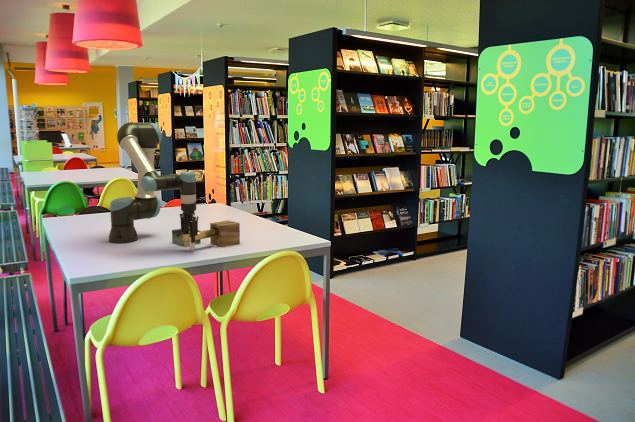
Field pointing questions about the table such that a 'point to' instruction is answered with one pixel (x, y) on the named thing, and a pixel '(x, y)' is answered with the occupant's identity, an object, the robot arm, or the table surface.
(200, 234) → the axle
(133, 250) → the table surface
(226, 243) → the wooden cube block
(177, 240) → the v block
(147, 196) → the robot arm
